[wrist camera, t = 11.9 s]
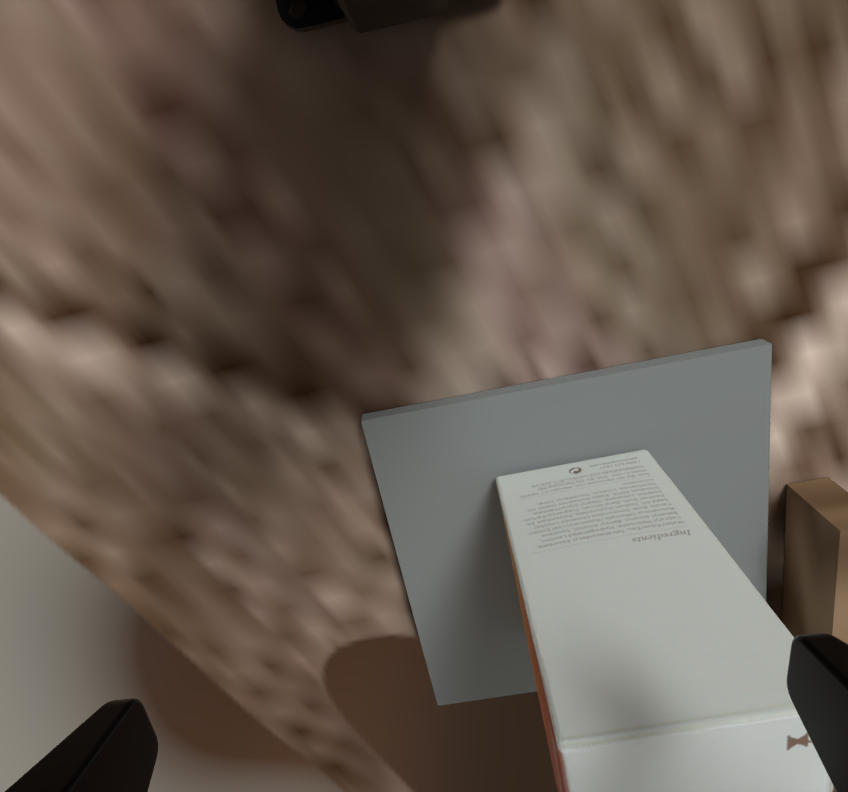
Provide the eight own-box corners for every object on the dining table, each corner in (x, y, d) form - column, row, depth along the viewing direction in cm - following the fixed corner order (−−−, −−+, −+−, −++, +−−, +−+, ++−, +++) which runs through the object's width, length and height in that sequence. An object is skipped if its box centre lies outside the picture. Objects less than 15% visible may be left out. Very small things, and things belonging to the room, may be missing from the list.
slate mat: (362, 414, 21) (360, 420, 20) (761, 338, 19) (771, 343, 19) (437, 694, 26) (437, 706, 25) (757, 647, 25) (764, 658, 24)
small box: (492, 471, 21) (552, 744, 11) (648, 443, 20) (856, 701, 10) (523, 638, 24) (592, 970, 14) (660, 617, 23) (832, 944, 13)
